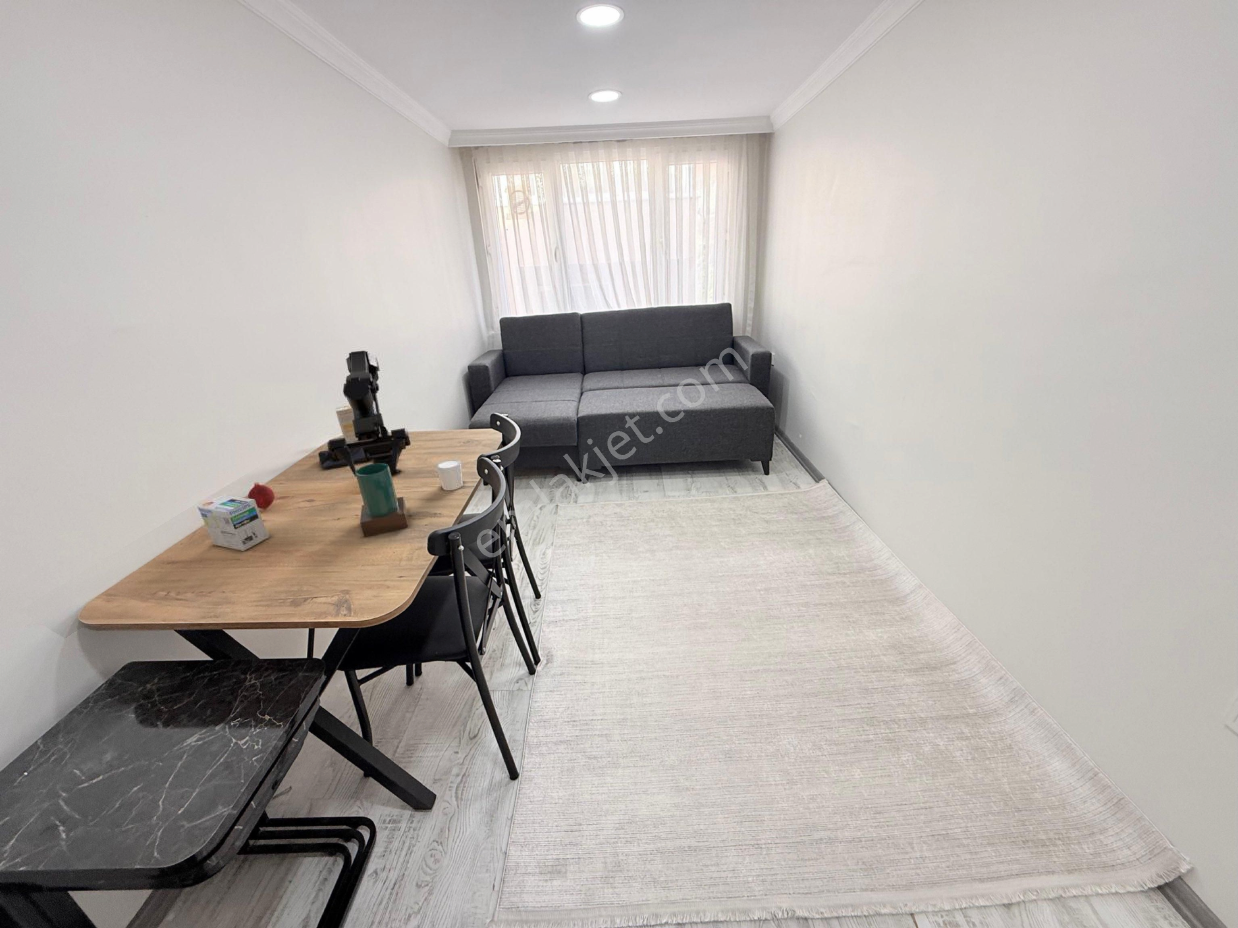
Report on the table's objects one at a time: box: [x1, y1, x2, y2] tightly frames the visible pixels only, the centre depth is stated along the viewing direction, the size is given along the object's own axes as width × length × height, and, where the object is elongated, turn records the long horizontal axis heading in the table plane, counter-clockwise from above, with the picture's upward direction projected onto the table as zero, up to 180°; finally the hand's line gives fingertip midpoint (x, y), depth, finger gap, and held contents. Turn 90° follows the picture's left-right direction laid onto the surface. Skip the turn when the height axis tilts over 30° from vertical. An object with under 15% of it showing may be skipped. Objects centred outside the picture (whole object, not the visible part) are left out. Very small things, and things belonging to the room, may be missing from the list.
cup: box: [355, 463, 398, 516], centre depth 122 cm, size 7×7×11 cm
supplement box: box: [334, 404, 358, 442], centre depth 181 cm, size 8×5×13 cm, turn 123°
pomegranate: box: [247, 481, 275, 510], centre depth 134 cm, size 6×6×8 cm
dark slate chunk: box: [317, 448, 367, 470], centre depth 167 cm, size 15×22×5 cm
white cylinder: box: [435, 459, 464, 491], centre depth 143 cm, size 7×7×7 cm
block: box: [359, 496, 409, 538], centre depth 125 cm, size 10×10×4 cm
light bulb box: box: [196, 494, 270, 552], centre depth 118 cm, size 11×7×11 cm, turn 71°
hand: (375, 472), depth 125 cm, fingers open, 9 cm apart
